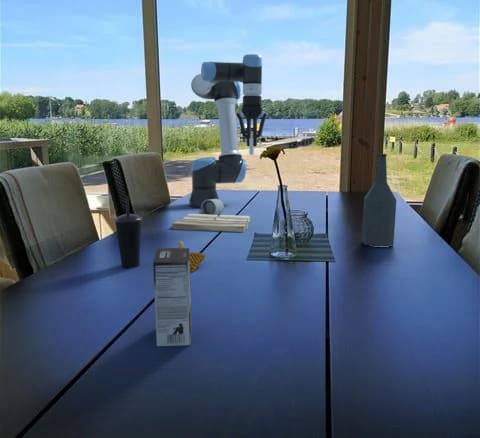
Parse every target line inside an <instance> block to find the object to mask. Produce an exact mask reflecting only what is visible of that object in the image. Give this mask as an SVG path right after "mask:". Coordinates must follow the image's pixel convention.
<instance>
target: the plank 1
mask: <svg viewBox="0 0 480 438" xmlns="http://www.w3.org/2000/svg"><path fill="white" fill-rule="evenodd" d="M218 217H219V215H210V214H199V213H188V214H186V216H184V217H183V218H182V219H198V220H216V219H217V218H218Z"/></svg>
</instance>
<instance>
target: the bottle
mask: <svg viewBox="0 0 480 438" xmlns="http://www.w3.org/2000/svg"><path fill="white" fill-rule="evenodd" d="M376 169H377V170H376V175H375V181H374V183H373V185H372V186H371V188H370V189H369V191H368V192H367V194H366V195H365V196H364V198H363V214H362V215H363V216H362V217H363V218H362V232H361V236H362V237H361V241H362V244H363V243H364V244H366V245H372V246H390V245H392V246H393V245H394V241H395V225H396V212H397V198H396V196H395V195H394V193H393V191H392V189H391V188H390V185H389V184H388V177H387V176H388V173H387V154H386V153H379V155H378V162H377V168H376ZM364 244H363V245H364Z"/></svg>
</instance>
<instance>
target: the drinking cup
mask: <svg viewBox="0 0 480 438" xmlns="http://www.w3.org/2000/svg"><path fill="white" fill-rule="evenodd" d="M129 205H130V203H129V196H128V195H126V196H125V208H126V209H125V210H126V213H125V214H122V215H118V216H117V217H116V218H114V219H113V221H114V223H115V230H116V235H117V236H116V237H117V242H118V250H119V255H120V262H121V267H122V268H125V269H133V268H137V267H139V266H140V259H141V255H140V254H141V238H142V237H141V236H142V235H141V233H142V221H143V217H142V216H139V215H137V214H133V213H130V206H129Z"/></svg>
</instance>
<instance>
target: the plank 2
mask: <svg viewBox="0 0 480 438" xmlns="http://www.w3.org/2000/svg"><path fill="white" fill-rule="evenodd" d="M216 220H223V221H248V224H249V222H251V215H236V214H235V215H232V214H219V215H218V218H217V219H216Z"/></svg>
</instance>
